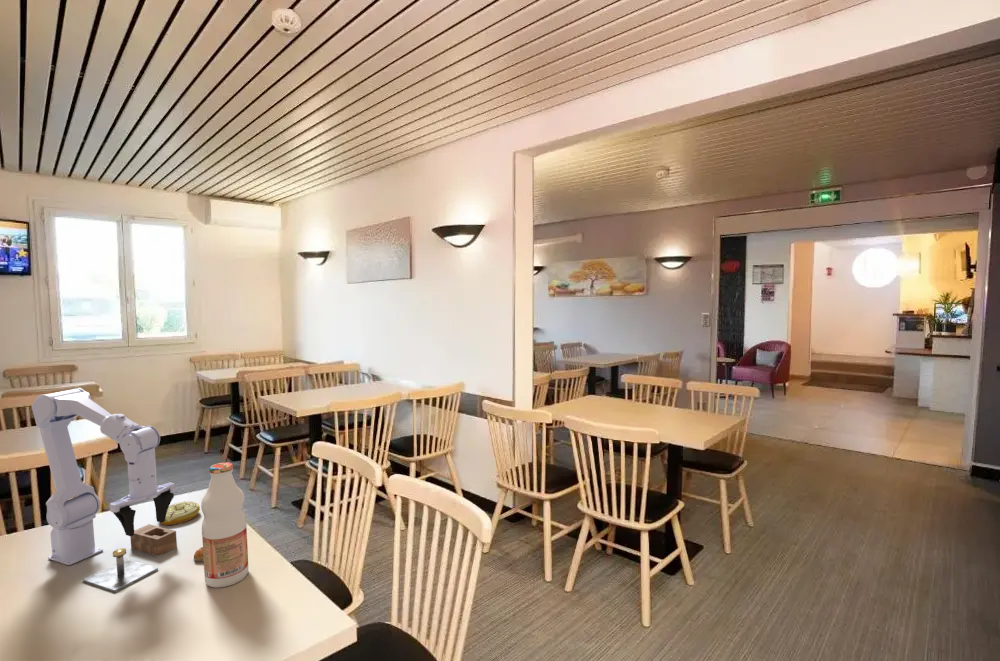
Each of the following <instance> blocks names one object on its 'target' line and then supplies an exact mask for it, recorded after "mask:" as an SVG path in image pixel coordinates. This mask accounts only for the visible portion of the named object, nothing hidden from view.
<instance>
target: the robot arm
mask: <svg viewBox="0 0 1000 661" xmlns="http://www.w3.org/2000/svg"><path fill="white" fill-rule="evenodd" d="M31 410H32V414H33V418H34V420H35V424H36V427H37V428H38V429H39V431H40V436H41V439H42V440H41V441H42V443H43V448H44V451H45V455H46V458H47V462H48V466H49V469H50V473H51V478H52V481H53V485H54V489H55V492H54V493H53V494H52V495H50V497H49V498H48V500H47V501H46V502H45V506H46V521H47V523H48V525H49V526H50V527H51V528H52V529H51V532H50V544H51V555H49V556H47V558H48V559H49V560H52V561H54V562H57V563H61V564H63V565H67V566H72V565H74V564H76V563H78V562H80V561H83V560H86V559H87V558H90V557H92V556H94V555H96V554H99V553H102V552H103V551H104V548H103V547H98V546H96V544H95V530H94V528H95V527H94V519H95V518H96V517H97V516H96V514H98V512H99V511H100V509H101V500H100V498H99V496H98V495H97V494H96V492H95V489H94V487H93V486H92V485H88V484H86V483H83V481H82V477H81V474H80V470H79V466H78V461H77V459H76V454H75V451H74V447H73V444H72V439H71V435H70V432H69V427H68V426H69V425H70V423H71V422H72V421H73V420H74V419H76V418H77V417H78V416H79V417H80V418H83V419H85V420H87V421H90V422H91V423H93V424H96V425H97V426H99V430H100V433H101V434H102V435H105V436H106V437H108V438H109V439H111V440H113V441H114V442H116V443H118V444H119V447H120V450H121V451H122V453H123V455H124V460H125V462H127V475H128V476H127V477H128V491H129V494H128V495H125V496H123V497H122V498H120V499H118V500H116V501H114V502H111V503H109V512H111V513H112V514H113V515H114V516H115V517H116V518H117V519H118V521H119V522H120V523H121V526H122V528H123V530H124V533H125V536H129V537H130V536H133V535H134V530H135V524H134V523H135V516H136V513H137V512H136V510H135V509H132V507H131V506H134V505H136V504H140V503H142V502H145V501H147V500H153V503H154V507H155V518H156V522H158V523H160V522H161V523H163V522H165V518H166V513H167V510H168V507H169V506H170V505H171V502H172V501H173V499H174V498H175V494H174V491H175V487H176V486H175V483H173V482H170V481H169V482H167V483H162V484H159V485H158V482H157V481H158V480H157V466H156V465H157V461H156V448H157V447H158V446H159V445H160V441H161V434H160V433H159V431H158V430H157V428H155V427H154V426H152V425H146V426H145V425H140V424H139V423H137V422H135V421H133V420H131V419H130V418H128V417H127V416H126V415H125V414H124V413H113V414H112V413H110V412H109V411H107V410H106V409H105V408H104V407H102V406H100V404H98V403H96V402H95V401H94V400H92V396H91V393H90V392H88V391H86V390H84V388H82V387H75V388H73V389H68V390H67V389H66V390H62V391H58V392H53V393H51V392H50V393H46V394H45V393H43V394H39V395H38V396H37V397H36V398H35V400H34V401H33V402H32V404H31ZM161 523H160V524H161Z"/></svg>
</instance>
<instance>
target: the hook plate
mask: <svg viewBox="0 0 1000 661" xmlns="http://www.w3.org/2000/svg"><path fill="white" fill-rule="evenodd" d="M126 554H127V548H125V547H122V548H121V547H120V548H117V549H115V550H114V551H112V557H113V558H116V561H115V562H116V563H114V564H112V565H110V566H108V567H106V568H104V569H102V570H100V571H98V572H95V573H93V574H90V575H89V576H88V577H85V578H82V583H86V584H87V585H91V586H93V587H97V588H99V589H102V590H105V591H109V592H111V593H117V592H119V591H121V590H123V589H124V588H127V587H128V586H130V585H132V584H134V583H137V582H138V581H140V580H143V579H144V578H146V577H148V576H149V575H152V574H153V573H156V572H157V571H159V568H158V567H156V566H153V565H150V564H145V563H143V562H140V561H136V560H133V559H129V558H125V557H124V556H125V555H126Z"/></svg>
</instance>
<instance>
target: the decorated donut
mask: <svg viewBox="0 0 1000 661" xmlns="http://www.w3.org/2000/svg"><path fill="white" fill-rule="evenodd" d="M200 511H201V506H200V504H199V503H197V502H195V501H181V502H175V503H173V504H170V505H169V507H168V510H167V513H166V518H165V522H163V523H161V522H159V523H160V524H161V525H162V526H173V525H178V524H182V522H183V523H185V522H188V521H191V520H192V519H194V518H195V517H196V516H197V515H198V514H199V513H200Z"/></svg>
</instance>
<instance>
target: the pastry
mask: <svg viewBox="0 0 1000 661" xmlns="http://www.w3.org/2000/svg"><path fill="white" fill-rule="evenodd" d="M193 554H194V555H193V560H195V561H196V562H204V558H203V546H202V547H201V548H199V549H197V550H195V552H194V553H193Z"/></svg>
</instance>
